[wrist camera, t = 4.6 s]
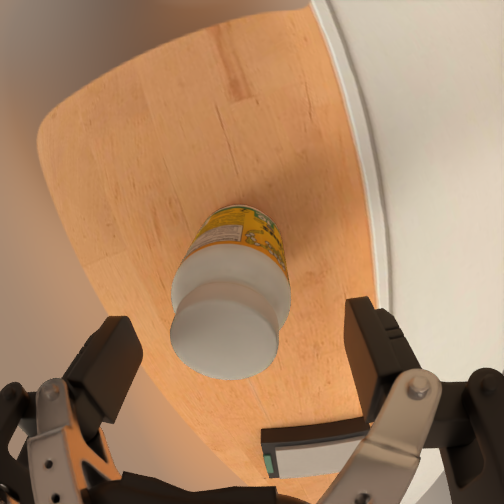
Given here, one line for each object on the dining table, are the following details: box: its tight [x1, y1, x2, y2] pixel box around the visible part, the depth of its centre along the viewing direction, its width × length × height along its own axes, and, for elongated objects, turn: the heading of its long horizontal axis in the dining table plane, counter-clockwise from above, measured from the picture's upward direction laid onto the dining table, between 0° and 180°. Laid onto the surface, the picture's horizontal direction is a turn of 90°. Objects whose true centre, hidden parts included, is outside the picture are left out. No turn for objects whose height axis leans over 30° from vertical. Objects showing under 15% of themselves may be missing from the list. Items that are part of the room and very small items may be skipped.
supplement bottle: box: [170, 205, 291, 380], centre depth 14 cm, size 5×5×10 cm
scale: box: [261, 417, 370, 479], centre depth 28 cm, size 12×12×3 cm
